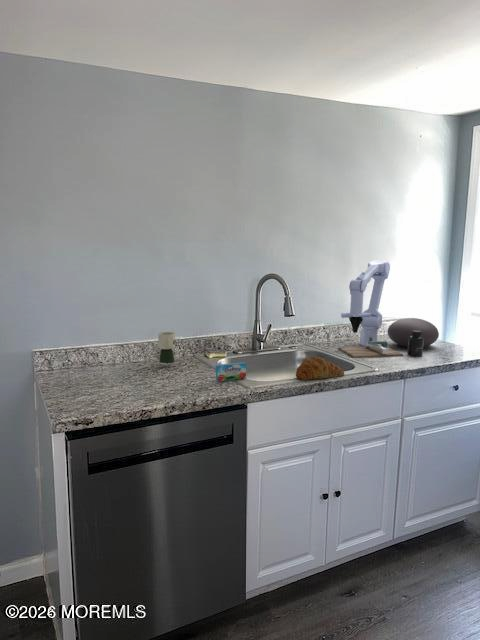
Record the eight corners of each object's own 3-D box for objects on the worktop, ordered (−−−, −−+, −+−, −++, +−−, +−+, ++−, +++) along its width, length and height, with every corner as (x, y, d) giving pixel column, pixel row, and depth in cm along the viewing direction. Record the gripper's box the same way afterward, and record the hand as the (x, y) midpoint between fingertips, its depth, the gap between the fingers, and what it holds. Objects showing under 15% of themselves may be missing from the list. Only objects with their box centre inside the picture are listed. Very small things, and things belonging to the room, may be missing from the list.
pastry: (304, 384, 174) (304, 363, 173) (286, 375, 186) (287, 355, 185) (349, 378, 183) (350, 358, 182) (329, 370, 194) (330, 351, 193)
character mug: (177, 365, 196) (177, 335, 194) (160, 366, 194) (160, 336, 192) (172, 359, 206) (172, 330, 204) (156, 360, 204) (156, 331, 202)
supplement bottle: (420, 358, 217) (422, 333, 215) (405, 356, 221) (407, 331, 219) (424, 355, 222) (426, 330, 220) (409, 353, 226) (411, 329, 224)
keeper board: (338, 349, 233) (338, 338, 232) (384, 347, 237) (385, 337, 237) (353, 357, 215) (354, 346, 215) (403, 356, 220) (404, 345, 219)
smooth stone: (376, 343, 247) (378, 315, 245) (413, 340, 257) (415, 313, 255) (409, 354, 225) (412, 323, 223) (448, 350, 234) (451, 321, 232)
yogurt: (244, 377, 181) (244, 362, 180) (246, 378, 179) (246, 363, 178) (215, 380, 176) (215, 364, 175) (217, 381, 174) (217, 365, 173)
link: (365, 346, 233) (365, 336, 232) (371, 346, 234) (372, 336, 233) (381, 354, 218) (382, 342, 217) (388, 353, 219) (389, 342, 218)
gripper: (345, 305, 220) (344, 334, 222) (374, 305, 223) (372, 333, 225) (339, 303, 227) (338, 331, 229) (367, 303, 230) (366, 330, 232)
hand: (355, 332), depth 228 cm, fingers closed
